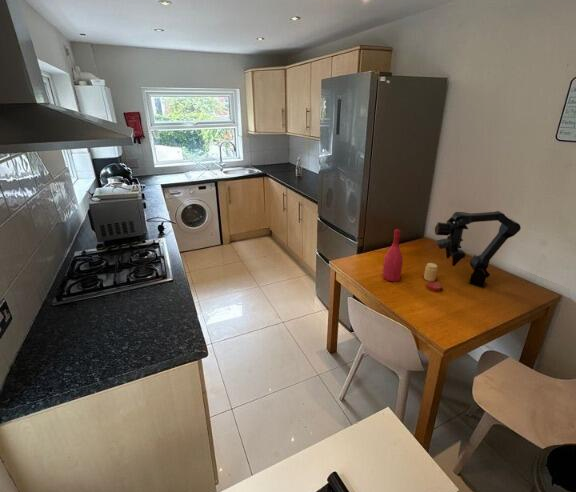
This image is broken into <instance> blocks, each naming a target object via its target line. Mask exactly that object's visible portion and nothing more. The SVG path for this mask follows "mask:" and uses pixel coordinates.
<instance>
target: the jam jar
mask: <svg viewBox="0 0 576 492" xmlns="http://www.w3.org/2000/svg"><path fill="white" fill-rule="evenodd" d="M437 275H438V264H436V263H434V262H428V263H426V265H425V268H424V274H423V279H424V280H426V281H428V282H435V281H436V280H437Z"/></svg>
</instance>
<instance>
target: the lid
mask: <svg viewBox="0 0 576 492" xmlns="http://www.w3.org/2000/svg"><path fill="white" fill-rule="evenodd" d="M427 289H429V291H432V292H436V293H437V292H441V291H442V285H441V284H440V283H439V282H435V281H428V283H427Z"/></svg>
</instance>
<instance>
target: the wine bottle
mask: <svg viewBox="0 0 576 492" xmlns="http://www.w3.org/2000/svg"><path fill="white" fill-rule="evenodd" d="M401 233H402V230H401V229H399V228H395V229H394V233H393V242H392V244H391V246H390V248H389V249H388V251H387V253H386V254H385V256H384V258H383V259H384V260H383V266H382V278H383V279H384V280H385V281H388V282H391V283H392V282H393V283H394V282H398V281H399V280H400V279H401V275H402V269H403V264H404V263H403V254H402V252H401V248H400V238H401Z"/></svg>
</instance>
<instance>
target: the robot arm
mask: <svg viewBox="0 0 576 492" xmlns="http://www.w3.org/2000/svg"><path fill="white" fill-rule="evenodd" d="M495 221H498V222H499V223H500V226H499V229H498V232H497V234H496V235H495V237H494V238H493V239H492V240H491V241H490V243H489V244H488V245H487V246H486V247H485V249H484V250H483V251H482V252H481V254H479V255H476V254H474V255H473V257H472V258H471V259H470V262H469V266H470V267H471V269H472V270H473V271H472V273H471V275H470V279H469V281H470V282H469V284H470V285H474V286H476V287H479V288H480V287H481V288H484V287H485V284H486V280H487V278H489V277H490V276H491V274H490V272H489V271H488V270H487V269H488V268H489V265H490V262H491V259H492V258H493V257H494V256H495V255H496V253H497V252H498V250H500V248H501V247H502V246H503V245H504V244H505V243H506V242H507V240H508V239H510V238H512V237H514V236H516V235H517V234H518V233H519V232H520V231H521V229H522V228H521V224H520V223H518V222H517V221H515V220H513V219H511V218H509V217H508V216H507V215H505V213H504V212H502V211H500V210H496V211H487V212H473V213H472V212H471V213H470V212H465V211H456V212H454V213H453V214H452V215H451V217H450V218H448V220H447V221H446V222H440V221H438V222H437V223H436V225H435V227H434V234H435V235H436V236H446V237H447V238H441V239H437V240H436V245H437V247H438V248H439V250H442V249H445V255H446V259H450V258H451V266H452V267H455V266H456V265H457V264H458V263H459V262H460V261H461V260H462V259H465V258H466V255H467V253H465V251H464V250H463V249H462V246H461V243H462V242H463V241H464V239H463V233H464V230H469V227H468V226H467V225H470V224H471V223H479V222H480V223H481V222H495Z"/></svg>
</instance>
